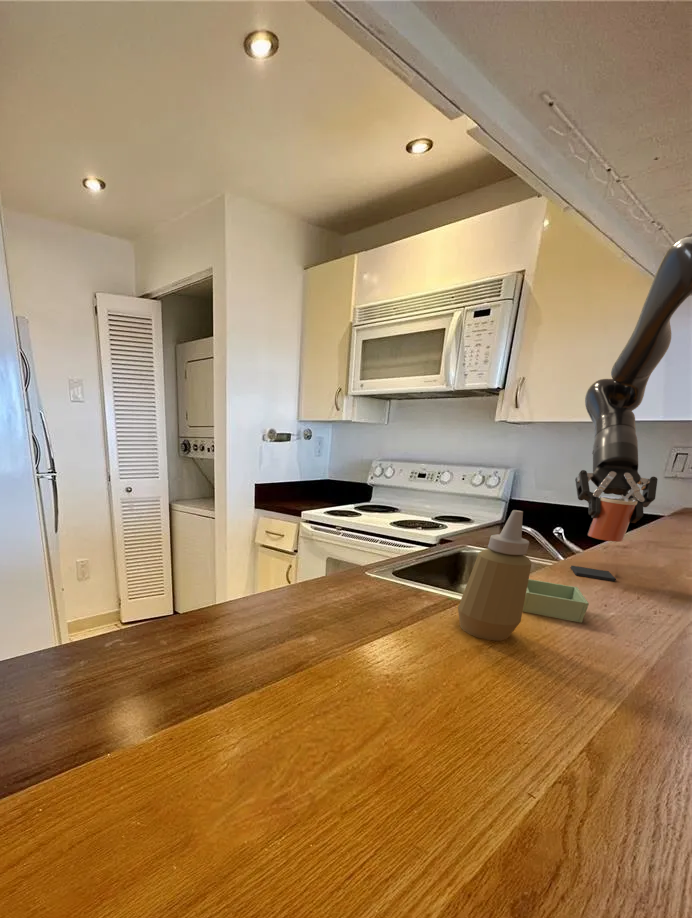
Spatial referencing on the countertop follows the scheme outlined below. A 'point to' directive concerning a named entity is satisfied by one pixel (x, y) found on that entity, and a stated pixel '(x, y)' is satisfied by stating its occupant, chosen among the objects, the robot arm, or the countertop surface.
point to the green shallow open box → (555, 600)
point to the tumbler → (612, 518)
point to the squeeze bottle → (497, 584)
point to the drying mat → (593, 573)
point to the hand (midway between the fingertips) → (615, 518)
